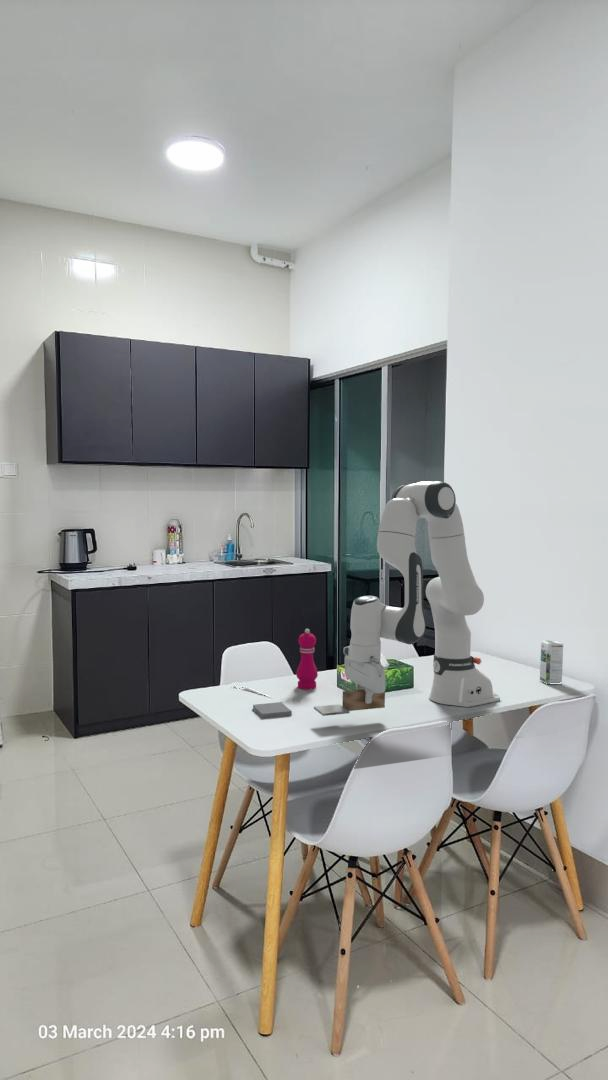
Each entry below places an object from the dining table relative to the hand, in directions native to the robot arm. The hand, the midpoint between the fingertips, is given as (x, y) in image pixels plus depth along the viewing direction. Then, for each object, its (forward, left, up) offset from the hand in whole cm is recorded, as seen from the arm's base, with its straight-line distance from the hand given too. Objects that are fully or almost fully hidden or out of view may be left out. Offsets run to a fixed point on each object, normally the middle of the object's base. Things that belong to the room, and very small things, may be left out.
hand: (364, 700), depth 211 cm
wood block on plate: (+4, 0, -2) cm, 5 cm away
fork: (+20, -41, -7) cm, 47 cm away
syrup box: (-80, -17, -6) cm, 82 cm away
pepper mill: (+2, -41, -6) cm, 41 cm away
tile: (+17, -18, -6) cm, 25 cm away
